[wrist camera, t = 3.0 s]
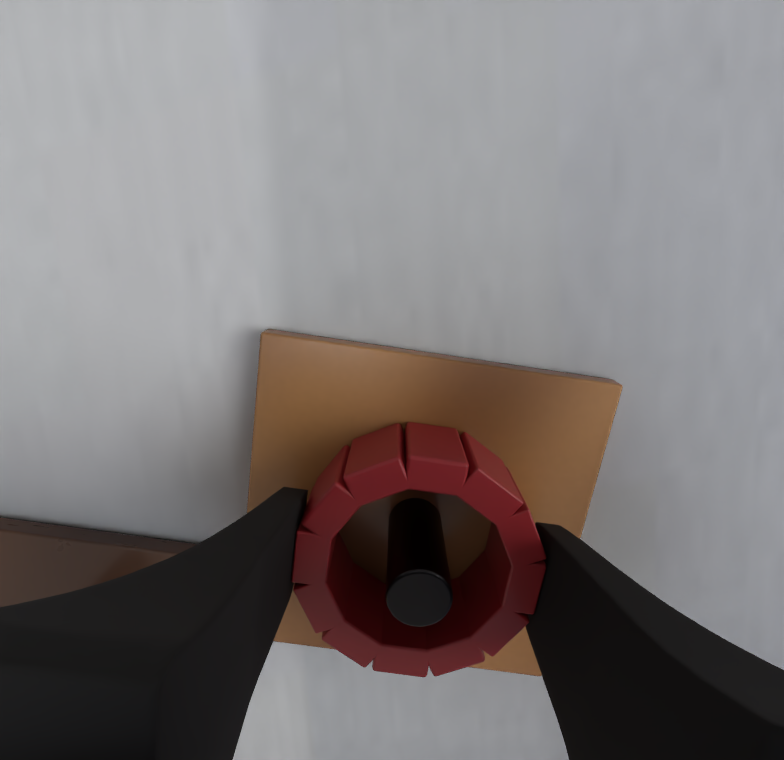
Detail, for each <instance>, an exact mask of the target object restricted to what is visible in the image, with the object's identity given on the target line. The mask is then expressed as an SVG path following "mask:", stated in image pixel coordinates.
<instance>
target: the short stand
mask: <svg viewBox="0 0 784 760" xmlns="http://www.w3.org/2000/svg"><path fill="white" fill-rule="evenodd" d="M621 391H622V385H621V384H619V383H617V382H616V381H614V380H612V379H605V378H598V377H592V376H585V375H578V374H571V373H564V372H558V371H551V370H544V369H537V368H530V367H524V366H517V365H510V364H503V363H497V362H490V361H483V360H476V359H469V358H463V357H456V356H449V355H442V354H435V353H429V352H422V351H415V350H408V349H402V348H395V347H388V346H381V345H374V344H368V343H361V342H354V341H347V340H340V339H334V338H327V337H320V336H313V335H306V334H300V333H293V332H286V331H279V330H273V329H267V330H265V331H263V332H262V333H261V337H260V350H259V363H258V375H257V388H256V401H255V414H254V427H253V440H252V453H251V466H250V479H249V492H248V505H247V513H248V512H250V511H251V510H253V509H254V508H255V507H257V506H258V505H259V504H261V503H262V502H263V501H265V500H266V499H267V498H269V497H270V496H271V495H273V494H274V493H275V492H277V491H278V490H280V489H281V488H283V487H290V488H298V489H305V490H308V495H307V502H308V499H309V497H310V494H311V491H312V489H313V487H314V486H315V483H316V481H317V478H318V477H319V476H320V474H321V473H322V472H323V471H324V470H325V468H326V467H327V466H328V465H329V464H330V462H331V461H332V460H333V459H334V457H335V456H336V455H337V454H338V453H339V451H340V450H341V449H342V448H343V447H344V446H345V445H348V446H349V447H351V444H352V440H353V439H355V438H358V437H360V436H363V435H366V434H369V433H371V432H374V431H377V430H379V429H382V428H385V427H388V426H390V425H393V424H396V423H399V424H400V425H401V427H402V429H403V432H404V434H405V427H406V424H407V423H408V422H414V423H421V424H428V425H435V426H442V427H449V428H455V429H457V431H458V434H459V437H460V436H461V434H462V433H463V432H466V433H468V434H469V435H470V436H472V437H473V438H474V439H476V440H477V441H478V442H479V443H481V444H482V445H483V446H485V447H486V448H487V449H488V450H490V451H491V452H492V453H494V454H495V455H496V456H498V457H499V458H500V459H501V460H502V461H503V463H504V465H505V467H508V469H509V471H510V473H511V475H512V477H513V479H514V480H515V482H516V484H517V486H518V488H519V490H520V492H521V494H522V496H523V498H524V500H525V502H526V504H527V506H528V508H529V510H530V512H531V515H532V518H533V521H534V523H536V522H541V523H548V524H555V525H560V526H562V527H563V528H565V529H567V530H568V531H570V532H571V533H572V534H574V535H575V536H576V537H578V538H579V539H580V537H581V534H582V530H583V526H584V523H585V519H586V516H587V512H588V509H589V505H590V501H591V498H592V494H593V491H594V487H595V484H596V480H597V476H598V473H599V469H600V466H601V462H602V459H603V455H604V452H605V448H606V444H607V441H608V437H609V434H610V430H611V427H612V423H613V419H614V416H615V412H616V409H617V405H618V402H619V398H620V394H621ZM306 505H307V504H306ZM490 526H491V521H490V520H488V519H487V518H486V517H484V516H483V515H481V514H480V513H479V512H477V511H476V510H475V509H473V508H472V507H471V506H469V505H468V504H467V503H465V502H464V501H463V500H461V499H460V498H459V497H457V496H453V495H446V494H439V493H432V492H425V491H418V490H410V489H407V490H405V491H402V492H399V493H396V494H393V495H390V496H388V497H385V498H382V499H379V500H376V501H373V502H371V503H368V504H365V505H362V506H361V507H360V508H359V509H358V510H357V511H356V512H355V514H354V515H353V516H352V517H351V518H350V519H349V521H348V522H347V523H346V524H345V525H344V526H343V527H342V529H341V530H340V531H339V533H340V535H341V537H342V539H343V541H344V544H345V546H346V548H347V550H348V552H349V554H350V556H351V558H352V560H353V562H354V563H355V564H357V565H358V566H360V567H361V568H363V569H364V570H366V571H367V572H368V573H370V574H371V575H373V576H374V577H376V578H377V579H379V580H380V581H382V582H383V583H384V584H386V603H387V606H388V608H389V610H390V612H391V613H392V615H393V616H394V617H395V618H396V619H397V620H399V621H400V622H402V623H404V624H407V625H410V626H416V627H423V626H429V625H432V624H435V623H437V622H438V621H440V620H441V619H443V618H444V617H445V616H446V614H447V613H448V612H449V610H450V608H451V605H452V602H453V592H452V586H451V579H454V578H457V577H459V576H460V575H461V574H462V573H463V572H464V571H465V570H466V569H467V568H468V567H469V566H470V565H471V564H472V563H473V562H474V561H475V560H476V559H477V558H478V557H479V556H480V555H481V554H482V553H483V552H484V550H485V548H486V544H487V539H488V535H489V531H490ZM294 584H295V583H294ZM293 587H294V586H293ZM322 633H323V632H320V633H315V631H314V629H313V628H312V626H311V624H310V622H309V620H308V618H307V616H306V614H305V612H304V610H303V608H302V606H301V605H300V603H299V601H298V599H297V597H296V595H295V593H294V591H293V590H292V593H291V597H290V600H289V602H288V605H287V608H286V610H285V613H284V615H283V618H282V620H281V623H280V625H279V628H278V630H277V633H276V635H275V638H274V640H273V641H277V642H284V643H292V644H299V645H307V646H314V647H322V648H330V649H335V648H333V647H332V646H330V645H329V644H327V643H326V642H324V641H323V640H322ZM484 654H485V661H484V662H481V663H478V664H475V665H471V666H468V667H473V668H481V669H488V670H496V671H503V672H511V673H519V674H526V675H534V676H541V675H542V674H541V671H540V668H539V665H538V663H537V660H536V657H535V654H534V651H533V648H532V645H531V642H530V639H529V636H528V633H527V630H526V626H525V627H524V628H523V629H522V630H521V631H520V632H519V633H518V634H517V635H516V636H515V637H514V638H512V639H511V640H510V641H509V642H508V643H507V644H506V645H505V646H504V647H503V648H502V649H501V650H500V651H499V652H498V653H497V654H496V655H495V656H493V657H491V656H490V655H488V654H487V653H486V652H484Z"/></svg>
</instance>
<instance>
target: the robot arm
mask: <svg viewBox="0 0 784 760" xmlns="http://www.w3.org/2000/svg"><path fill="white" fill-rule="evenodd" d="M307 495H308V490H305V489H298V488H290V487H283V488H281V489H280V490H278V491H277V492H275V493H274V494H273V495H271V496H270V497H269V498H267V499H266V500H265V501H263V502H262V503H261V504H259V505H258V506H257V507H255V508H254V509H253V510H251V511H250V512H248V513H247V514H246V515H244V516H243V517H241V518H240V519H238V520H237V521H236V522H234V523H232V524H231V525H229V526H228V527H226V528H224V529H223V530H221V531H219V532H218V533H216V534H215V535H213V536H211V537H210V538H208V539H206V540H204V541H203V542H201V543H199V544H197V545H195V546H193V547H191V548H189V549H187V550H185V551H183V552H181V553H179V554H177V555H174V556H172V557H170V558H168V559H165V560H163V561H160V562H158V563H155V564H153V565H150V566H148V567H145V568H143V569H140V570H137V571H135V572H132V573H130V574H127V575H124V576H121V577H118V578H115V579H112V580H109V581H106V582H103V583H100V584H96V585H93V586H89V587H86V588H82V589H79V590H75V591H71V592H67V593H64V594H60V595H55V596H51V597H46V598H41V599H37V600H32V601H28V602H23V603H19V604H14V605H9V606H4V607H0V760H232V759H233V756H234V753H235V749H236V746H237V742H238V739H239V736H240V732H241V729H242V726H243V722H244V719H245V715H246V712H247V709H248V705H249V702H250V700H251V697H252V694H253V691H254V688H255V685H256V683H257V680H258V678H259V675H260V673H261V670H262V668H263V665H264V663H265V660H266V658H267V655H268V653H269V650H270V648H271V645H272V643H273V640H274V638H275V635H276V633H277V630H278V628H279V625H280V623H281V620H282V618H283V615H284V613H285V610H286V608H287V605H288V602H289V600H290V597H291V593H292V590H293V586H294V582H292V581H291V576H292V566H293V557H294V548H295V539H296V532H297V529H298V526H299V524H300V521H301V518H302V516H303V513H304V510H305V507H306V504H307ZM535 526H536V529H537V532H538V534H539V537H540V540H541V543H542V546H543V548H544V551H545V554H546V559H545V560H544V562H545V564H546V571H545V575H544V579H543V583H542V586H541V590H540V594H539V598H538V601H537V605H536V609H535V613H534V614H527V615H528V617H529V620H530V621H529V623H528V624H527V625H526V630H527V633H528V636H529V639H530V642H531V645H532V648H533V651H534V654H535V657H536V660H537V663H538V665H539V668H540V671H541V674H542V677H543V680H544V682H545V685H546V688H547V691H548V694H549V697H550V699H551V702H552V705H553V708H554V711H555V714H556V716H557V719H558V722H559V725H560V729H561V732H562V735H563V738H564V742H565V745H566V749H567V753H568V757H569V760H784V670H783V669H780V668H778V667H776V666H774V665H772V664H770V663H768V662H766V661H764V660H762V659H760V658H759V657H757V656H755V655H753V654H751V653H749V652H747V651H745V650H743V649H742V648H740V647H738V646H736V645H734V644H732V643H730V642H728V641H727V640H725V639H723V638H721V637H720V636H718V635H716V634H714V633H713V632H711V631H709V630H708V629H706V628H704V627H703V626H701V625H699V624H698V623H696V622H695V621H693V620H691V619H690V618H688V617H686V616H685V615H683V614H681V613H680V612H678V611H677V610H675V609H674V608H672V607H671V606H669V605H668V604H666V603H665V602H663V601H662V600H660V599H659V598H658V597H656V596H655V595H653V594H652V593H650V592H649V591H648V590H646V589H645V588H643V587H642V586H640V585H639V584H638V583H636V582H635V581H634V580H632V579H631V578H630V577H628V576H627V575H626V574H624V573H623V572H622V571H620V570H619V569H618V568H616V567H615V566H614V565H613V564H611V563H610V562H609V561H607V560H606V559H605V558H604V557H602V556H601V555H600V554H598V553H597V552H596V551H595V550H593V549H592V548H591V547H589V546H588V545H587V544H586V543H584V542H583V541H582V540H580V539H579V538H578V537H576V536H575V535H574V534H572V533H571V532H570V531H568V530H567V529H565V528H563V527H562V526H560V525H555V524H548V523H541V522H536V523H535Z"/></svg>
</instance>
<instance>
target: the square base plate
mask: <svg viewBox="0 0 784 760" xmlns="http://www.w3.org/2000/svg"><path fill="white" fill-rule="evenodd" d="M195 545H197V544H192V543H185V542H177V541H170V540H163V539H155V538H148V537H141V536H133V535H126V534H119V533H111V532H104V531H97V530H89V529H82V528H75V527H68V526H60V525H53V524H46V523H38V522H31V521H24V520H16V519H9V518H2V517H0V607H4V606H9V605H14V604H19V603H23V602H28V601H32V600H37V599H41V598H46V597H51V596H55V595H60V594H64V593H67V592H71V591H75V590H79V589H82V588H86V587H89V586H93V585H96V584H100V583H103V582H106V581H109V580H112V579H115V578H118V577H121V576H124V575H127V574H130V573H132V572H135V571H137V570H140V569H143V568H145V567H148V566H150V565H153V564H155V563H158V562H160V561H163V560H165V559H168V558H170V557H172V556H174V555H177V554H179V553H181V552H183V551H185V550H187V549H189V548H191V547H193V546H195Z"/></svg>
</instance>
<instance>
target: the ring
mask: <svg viewBox="0 0 784 760" xmlns="http://www.w3.org/2000/svg"><path fill="white" fill-rule="evenodd" d="M407 489H410V490H418V491H425V492H432V493H439V494H446V495H453V496H457V497H459V498H460V499H461V500H463V501H464V502H465V503H467V504H468V505H469V506H471V507H472V508H473V509H475V510H476V511H477V512H479V513H480V514H481V515H483V516H484V517H486V518H487V519H488V520H490V521H491V526H490V531H489V535H488V539H487V544H486V548H485V550H484V552H483V553H482V554H481V555H480V556H479V557H478V558H477V559H476V560H475V561H474V562H473V563H472V564H471V565H470V566H469V567H468V568H467V569H466V570H465V571H464V572H463V573H462V574H461V575H460V576H459V577H457V578H454V579H451V586H452V592H453V602H452V605H451V608H450V610H449V612H448V613H447V614H446V616H445V617H444V618H443V619H441V620H440V621H438V622H437V623H435V624H432V625H429V626H423V627H416V626H410V625H407V624H404V623H402V622H400V621H399V620H397V619H396V618H395V617H394V616H393V615H392V613H391V612H390V610H389V608H388V606H387V603H386V584H384V583H383V582H382V581H380V580H379V579H377V578H376V577H374V576H373V575H371V574H370V573H368V572H367V571H366V570H364V569H363V568H361V567H360V566H358V565H357V564H355V563H354V562H353V560H352V558H351V556H350V554H349V552H348V550H347V548H346V546H345V544H344V541H343V539H342V537H341V535H340V533H339V531H340V530H341V529H342V527H343V526H344V525H345V524H346V523H347V522H348V521H349V519H350V518H351V517H352V516H353V515H354V514H355V512H356V511H357V510H358V509H359V508H360V507H361V506H362V505H365V504H368V503H371V502H373V501H376V500H379V499H382V498H385V497H388V496H390V495H393V494H396V493H399V492H402V491H405V490H407ZM545 559H546V554H545V551H544V548H543V546H542V543H541V540H540V537H539V534H538V532H537V529H536V526H535V523H534V521H533V518H532V515H531V512H530V510H529V508H528V506H527V504H526V502H525V500H524V498H523V496H522V494H521V492H520V490H519V488H518V486H517V484H516V482H515V480H514V479H513V477H512V475H511V473H510V471H509V469H508V467H505V465H504V463H503V461H502V460H501V459H500V458H499V457H498V456H496V455H495V454H494V453H492V452H491V451H490V450H488V449H487V448H486V447H485V446H483V445H482V444H481V443H479V442H478V441H477V440H476V439H474V438H473V437H472V436H470V435H469V434H468V433H466V432H463V433H462V434H461V436H460V437H459V434H458V431H457V429H455V428H449V427H442V426H435V425H428V424H421V423H414V422H408V423H407V424H406V427H405V434H404V432H403V429H402V427H401V425H400V424H399V423H396V424H393V425H390V426H388V427H385V428H382V429H379V430H377V431H374V432H371V433H369V434H366V435H363V436H360V437H358V438H355V439H353V440H352V444H351V447H349V446H348V445H345V446H344V447H343V448H342V449H341V450H340V451H339V453H338V454H337V455H336V456H335V457H334V459H333V460H332V461H331V462H330V464H329V465H328V466H327V467H326V468H325V470H324V471H323V472H322V473H321V474H320V476H319V477H318V478H317V481H316V483H315V486H314V487H313V489H312V491H311V494H310V497H309V499H308V502H307V505H306V507H305V510H304V513H303V516H302V518H301V521H300V524H299V526H298V529H297V532H296V539H295V548H294V557H293V566H292V576H291V581H292V582H294V583H295V584H294V587H293V591H294V593H295V595H296V597H297V599H298V601H299V603H300V605H301V606H302V608H303V610H304V612H305V614H306V616H307V618H308V620H309V622H310V624H311V626H312V628H313V629H314V631H315V633H320V632H323V633H322V640H323V641H324V642H326V643H327V644H329V645H330V646H332V647H333V648H335V649H336V650H338V651H339V652H341V653H343V654H344V655H346V656H347V657H349V658H350V659H352V660H353V661H355V662H356V663H358V664H359V665H361V666H363V667H366V666H367V665H368V664H369V663H370V662H371V661H372V660H373V664H372V667H373V670H374V671H380V672H388V673H395V674H403V675H410V676H418V677H426V675H427V672H428V667H430V669H431V671H432V673H433V675H434V676H439V675H442V674H445V673H449V672H452V671H455V670H458V669H462V668H465V667H468V666H471V665H475V664H478V663H481V662H484V661H485V654H484V652H486V653H487V654H488V655H490V656H491V657H493V656H495V655H496V654H497V653H498V652H499V651H500V650H501V649H502V648H503V647H504V646H505V645H506V644H507V643H508V642H509V641H510V640H511V639H512V638H514V637H515V636H516V635H517V634H518V633H519V632H520V631H521V630H522V629H523V628H524V627H525V626H526V625H527V624H528V623H529V621H530V620H529V617H528V615H527V614H534V613H535V609H536V605H537V601H538V598H539V594H540V590H541V586H542V583H543V579H544V575H545V571H546V564H545V562H544V560H545Z"/></svg>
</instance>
